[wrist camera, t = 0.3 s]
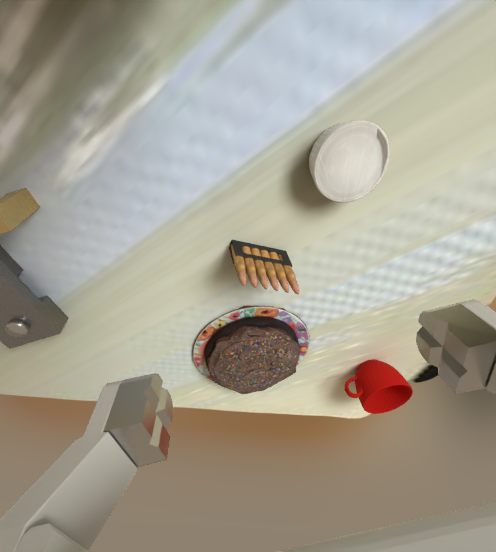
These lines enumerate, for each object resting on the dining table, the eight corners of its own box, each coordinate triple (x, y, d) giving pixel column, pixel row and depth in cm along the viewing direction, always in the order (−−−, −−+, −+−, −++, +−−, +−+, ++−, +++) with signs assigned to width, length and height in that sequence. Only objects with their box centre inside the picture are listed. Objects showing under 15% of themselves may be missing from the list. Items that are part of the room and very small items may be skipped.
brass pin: (6, 194, 40) (-31, 216, 34) (25, 187, 40) (-8, 209, 33) (21, 212, 42) (-11, 237, 35) (40, 206, 42) (11, 230, 35)
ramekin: (378, 171, 46) (396, 180, 42) (315, 203, 48) (327, 216, 44) (363, 100, 40) (383, 102, 36) (292, 141, 42) (303, 148, 37)
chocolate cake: (275, 281, 57) (283, 302, 52) (324, 351, 72) (334, 372, 67) (167, 342, 62) (164, 366, 57) (234, 394, 78) (236, 417, 73)
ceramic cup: (343, 351, 73) (361, 385, 65) (399, 351, 77) (422, 383, 69) (327, 381, 80) (341, 415, 72) (378, 380, 84) (397, 412, 76)
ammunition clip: (229, 248, 50) (236, 289, 41) (231, 239, 49) (239, 279, 40) (282, 259, 54) (301, 299, 44) (286, 251, 53) (306, 290, 43)
